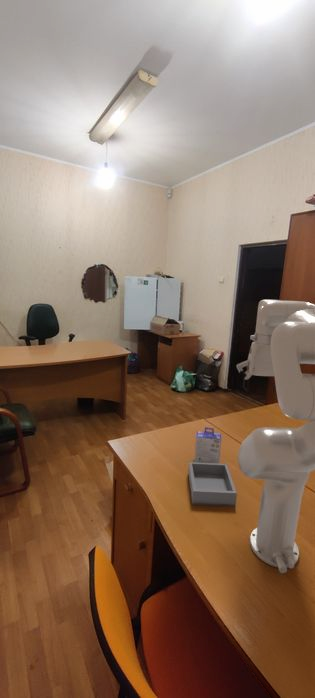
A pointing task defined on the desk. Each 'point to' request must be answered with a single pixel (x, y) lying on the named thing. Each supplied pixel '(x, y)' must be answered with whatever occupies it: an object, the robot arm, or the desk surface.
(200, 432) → the ink cartridge box
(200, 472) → the bin
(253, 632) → the desk surface
